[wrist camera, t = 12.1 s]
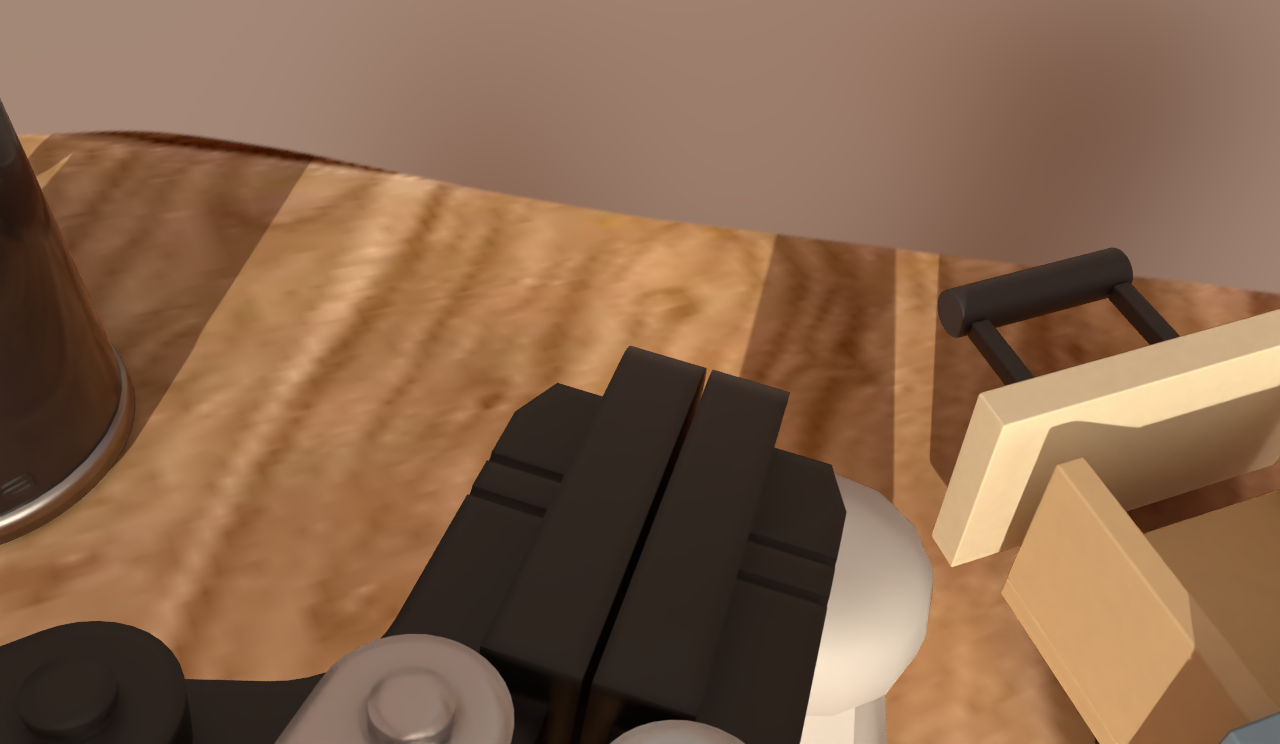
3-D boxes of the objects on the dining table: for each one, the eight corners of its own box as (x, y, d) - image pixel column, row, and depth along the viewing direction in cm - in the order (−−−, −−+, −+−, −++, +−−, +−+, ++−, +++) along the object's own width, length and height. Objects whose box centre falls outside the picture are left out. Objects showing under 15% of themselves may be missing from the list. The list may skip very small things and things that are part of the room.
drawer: (842, 396, 38) (873, 249, 34) (1138, 315, 41) (1205, 169, 36) (1233, 1014, 26) (1365, 917, 22) (1617, 841, 29) (1808, 721, 24)
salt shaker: (801, 703, 32) (880, 378, 22) (914, 907, 28) (1065, 624, 19) (600, 783, 30) (593, 470, 21) (692, 1010, 27) (735, 758, 17)
